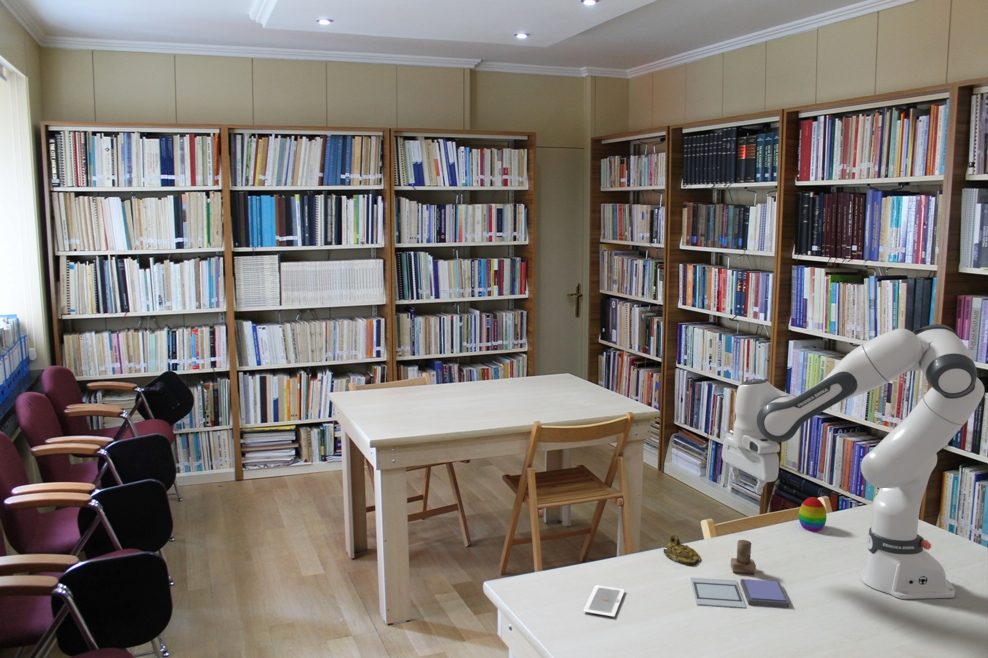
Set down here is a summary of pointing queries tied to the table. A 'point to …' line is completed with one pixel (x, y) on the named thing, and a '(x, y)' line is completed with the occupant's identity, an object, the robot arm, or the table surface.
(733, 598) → the marked card
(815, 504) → the decorative egg
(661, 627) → the table surface
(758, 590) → the ink pad
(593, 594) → the touchpad
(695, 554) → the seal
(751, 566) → the stamp
